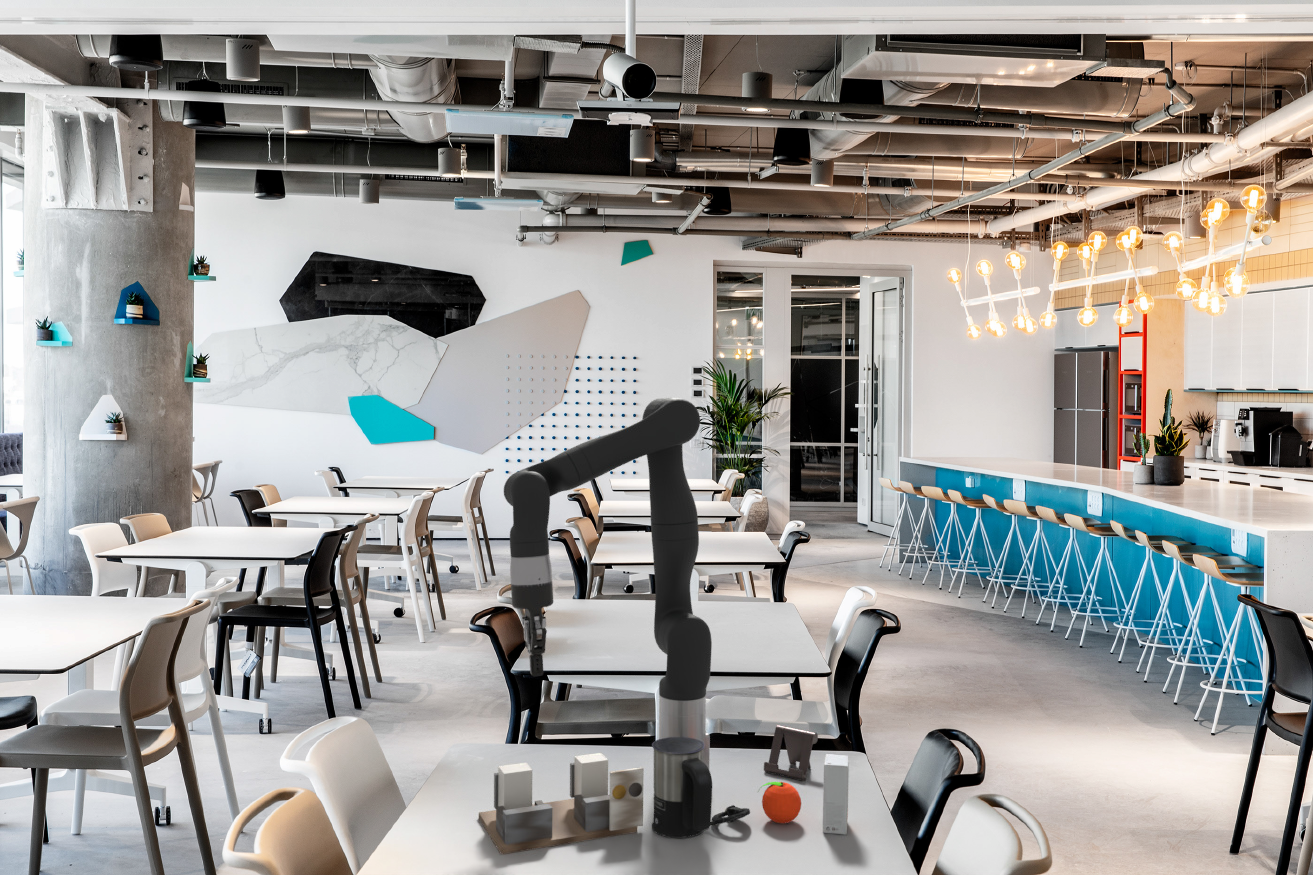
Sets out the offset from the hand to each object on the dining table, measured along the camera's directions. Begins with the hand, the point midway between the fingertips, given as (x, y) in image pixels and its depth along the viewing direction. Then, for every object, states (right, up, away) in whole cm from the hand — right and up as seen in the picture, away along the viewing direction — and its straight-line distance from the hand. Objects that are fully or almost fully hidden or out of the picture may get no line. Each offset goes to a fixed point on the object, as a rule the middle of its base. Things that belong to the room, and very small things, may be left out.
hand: (536, 674), depth 187 cm
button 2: (+10, -23, -2) cm, 25 cm away
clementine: (+43, -25, -5) cm, 50 cm away
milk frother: (+30, -25, -7) cm, 39 cm away
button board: (+4, -25, -7) cm, 26 cm away
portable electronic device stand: (+49, -25, +20) cm, 58 cm away
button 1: (-3, -23, -8) cm, 25 cm away
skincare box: (+53, -25, -7) cm, 59 cm away
